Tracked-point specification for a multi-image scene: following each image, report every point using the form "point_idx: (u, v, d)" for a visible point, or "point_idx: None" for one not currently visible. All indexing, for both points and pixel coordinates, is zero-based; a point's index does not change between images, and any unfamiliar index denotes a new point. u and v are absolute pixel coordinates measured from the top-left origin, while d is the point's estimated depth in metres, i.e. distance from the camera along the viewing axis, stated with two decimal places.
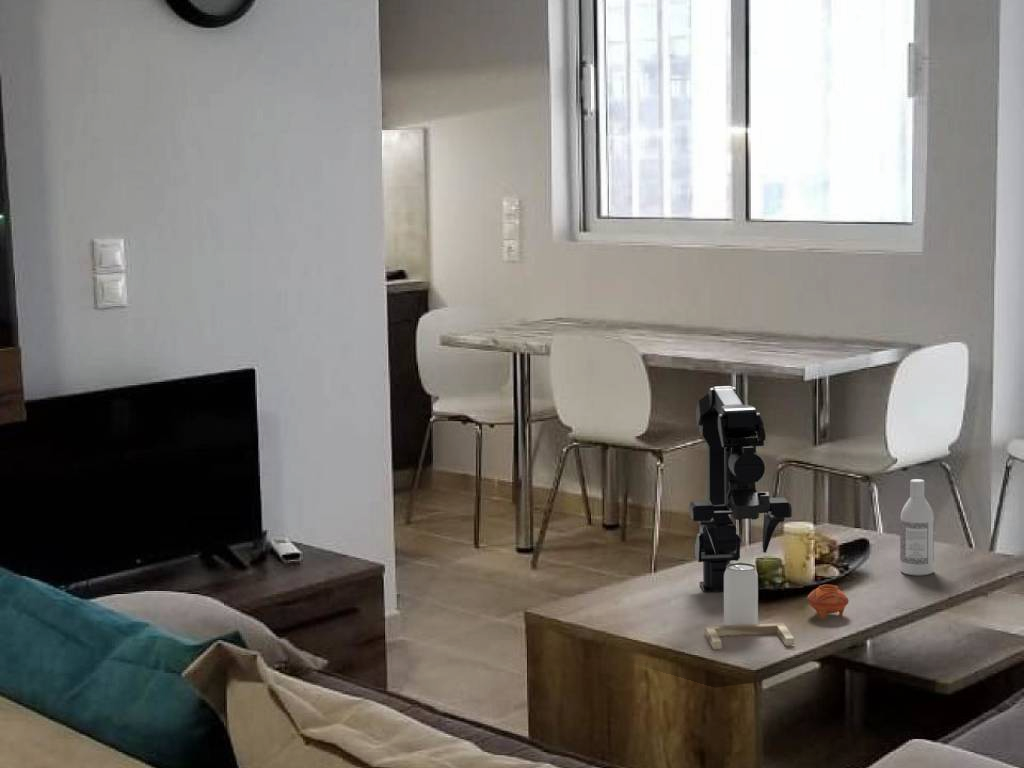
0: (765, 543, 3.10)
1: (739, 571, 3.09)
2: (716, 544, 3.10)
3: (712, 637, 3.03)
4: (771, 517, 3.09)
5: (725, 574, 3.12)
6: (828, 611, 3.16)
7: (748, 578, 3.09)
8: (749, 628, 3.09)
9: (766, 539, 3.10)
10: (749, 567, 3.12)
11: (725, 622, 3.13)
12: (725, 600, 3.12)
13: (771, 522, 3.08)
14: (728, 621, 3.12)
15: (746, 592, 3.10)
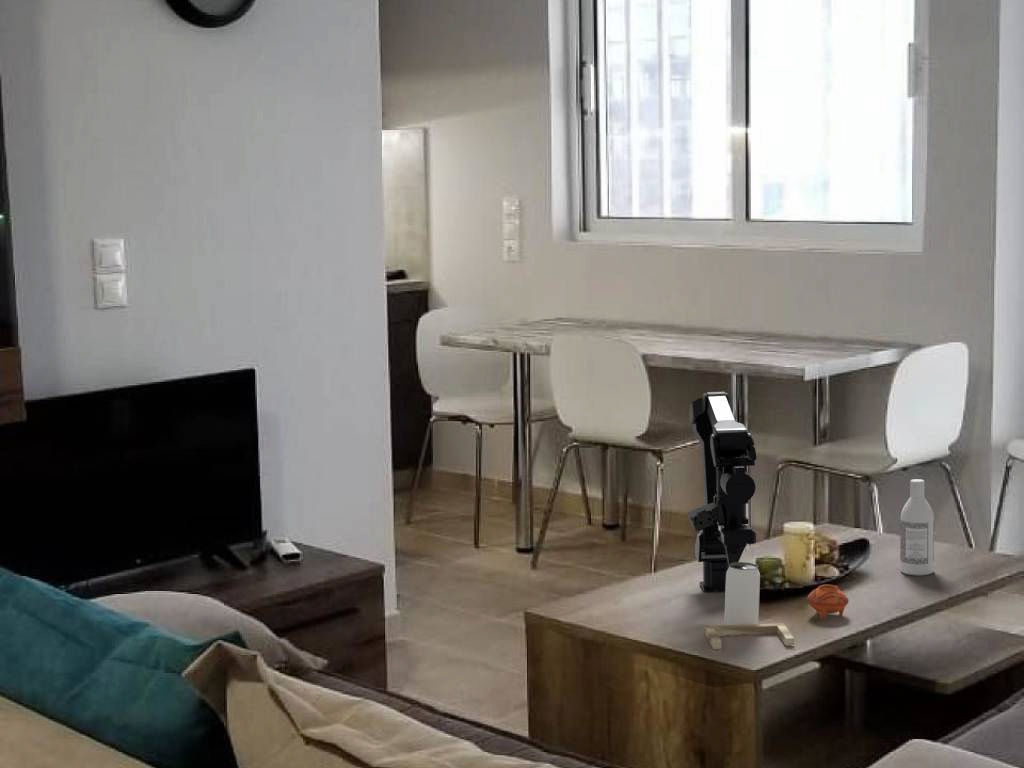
0: (728, 559, 3.21)
1: (741, 570, 3.10)
2: (727, 558, 3.21)
3: (712, 637, 3.03)
4: None
5: (727, 572, 3.12)
6: (828, 611, 3.16)
7: (750, 577, 3.09)
8: (749, 628, 3.09)
9: (727, 555, 3.21)
10: (752, 567, 3.12)
11: (725, 621, 3.13)
12: (726, 599, 3.12)
13: None
14: (728, 620, 3.12)
15: (748, 591, 3.10)
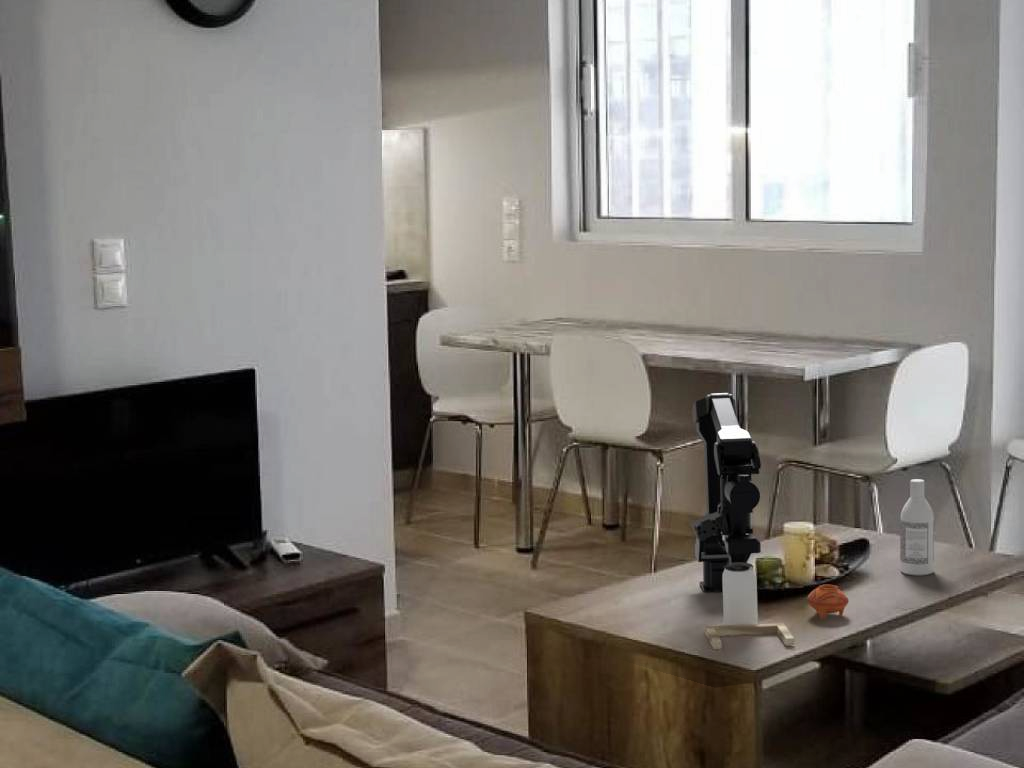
0: None
1: (736, 572, 3.09)
2: None
3: (712, 637, 3.03)
4: None
5: (723, 575, 3.11)
6: (828, 611, 3.16)
7: (746, 578, 3.09)
8: (749, 628, 3.09)
9: None
10: (747, 567, 3.12)
11: (724, 622, 3.13)
12: (724, 600, 3.12)
13: None
14: (727, 621, 3.12)
15: (744, 593, 3.09)
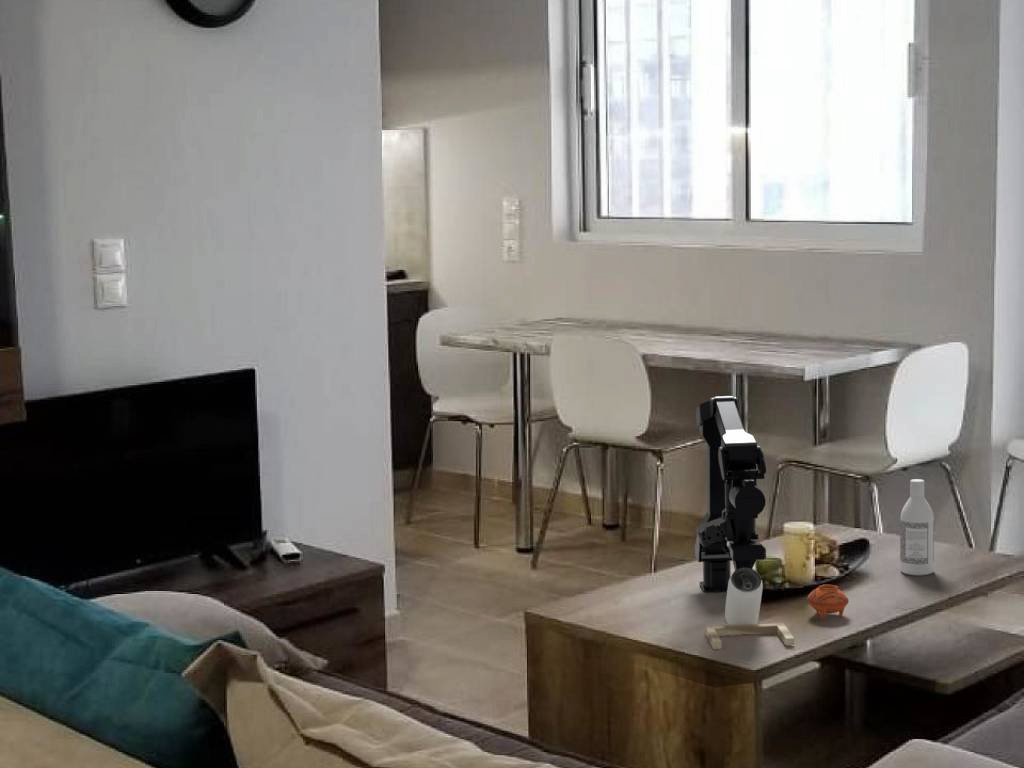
0: None
1: (742, 591, 3.03)
2: None
3: (712, 637, 3.03)
4: None
5: (729, 585, 3.06)
6: (828, 611, 3.16)
7: (751, 597, 3.04)
8: (749, 628, 3.09)
9: None
10: (755, 580, 3.05)
11: (725, 615, 3.12)
12: (727, 602, 3.09)
13: None
14: (727, 618, 3.11)
15: (748, 607, 3.06)
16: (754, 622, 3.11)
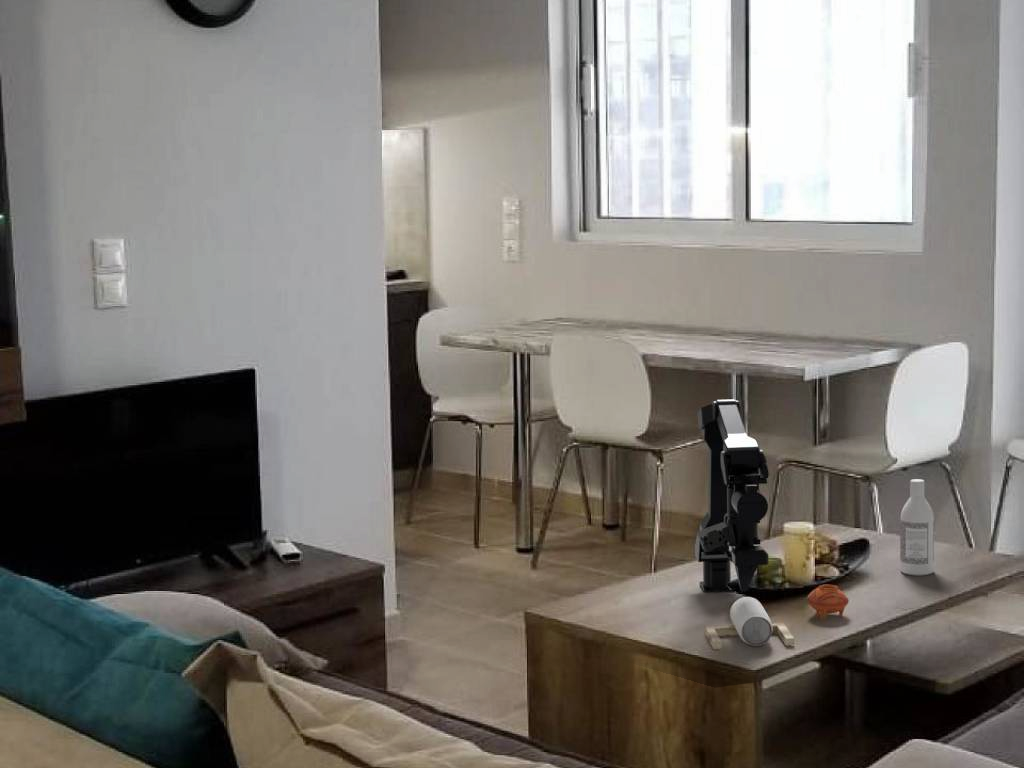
0: (739, 581, 3.09)
1: None
2: (738, 579, 3.10)
3: (712, 637, 3.03)
4: None
5: (739, 626, 3.02)
6: (828, 611, 3.16)
7: None
8: None
9: (738, 577, 3.09)
10: (765, 632, 3.01)
11: (730, 612, 3.11)
12: (734, 619, 3.07)
13: None
14: (731, 618, 3.11)
15: None
16: None
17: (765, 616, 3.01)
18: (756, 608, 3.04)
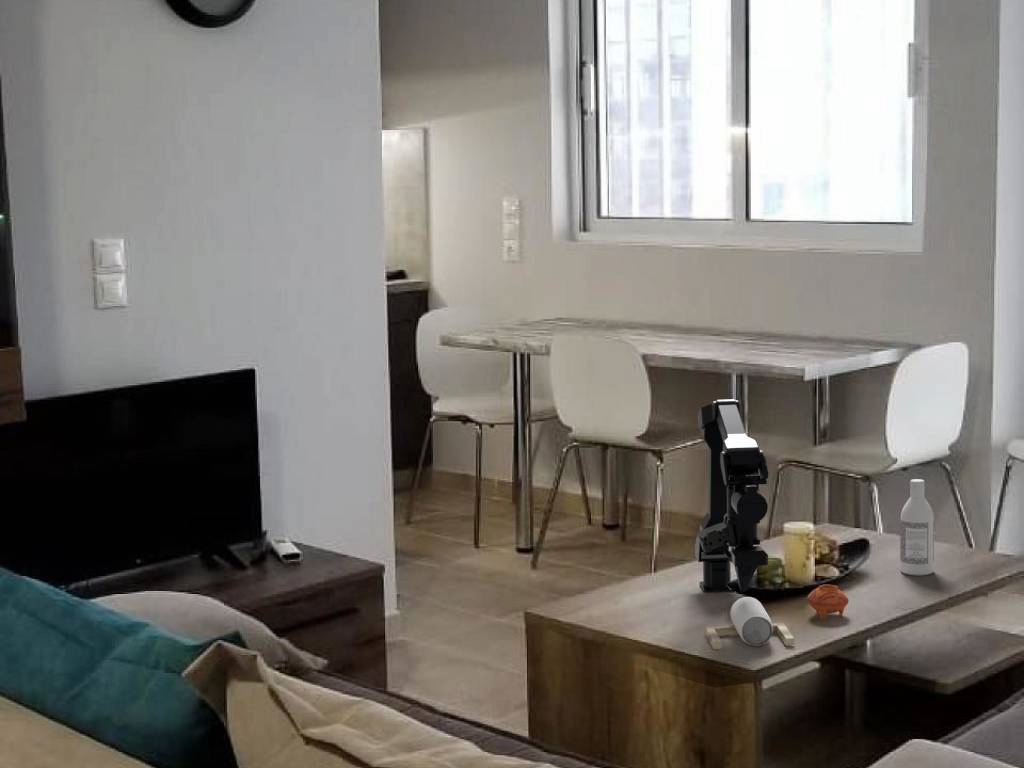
0: (738, 581, 3.09)
1: None
2: None
3: (712, 637, 3.03)
4: None
5: (739, 626, 3.02)
6: (828, 611, 3.16)
7: None
8: None
9: (738, 577, 3.09)
10: (765, 633, 3.01)
11: (731, 612, 3.11)
12: (734, 619, 3.07)
13: None
14: (731, 617, 3.11)
15: None
16: None
17: (765, 616, 3.01)
18: (757, 608, 3.04)
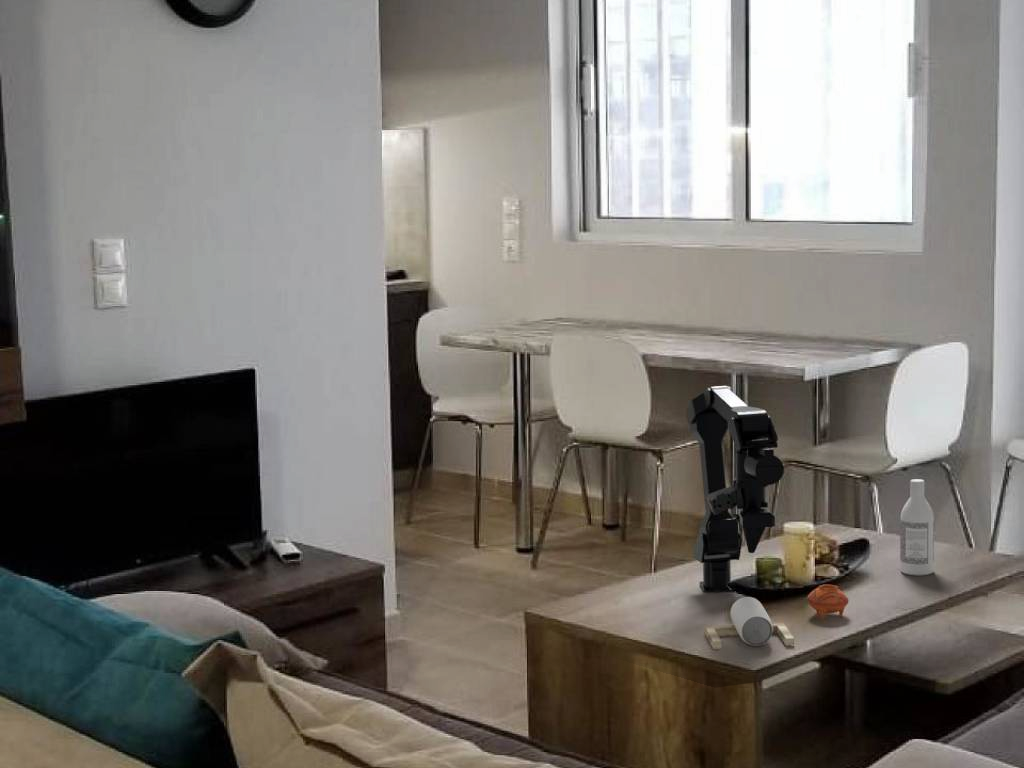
0: (747, 543, 3.19)
1: None
2: (746, 541, 3.20)
3: (712, 637, 3.03)
4: None
5: (739, 626, 3.02)
6: (828, 611, 3.16)
7: None
8: None
9: (746, 539, 3.19)
10: (765, 633, 3.01)
11: (731, 612, 3.11)
12: (734, 619, 3.07)
13: None
14: (731, 617, 3.11)
15: None
16: None
17: (765, 616, 3.01)
18: (757, 608, 3.04)
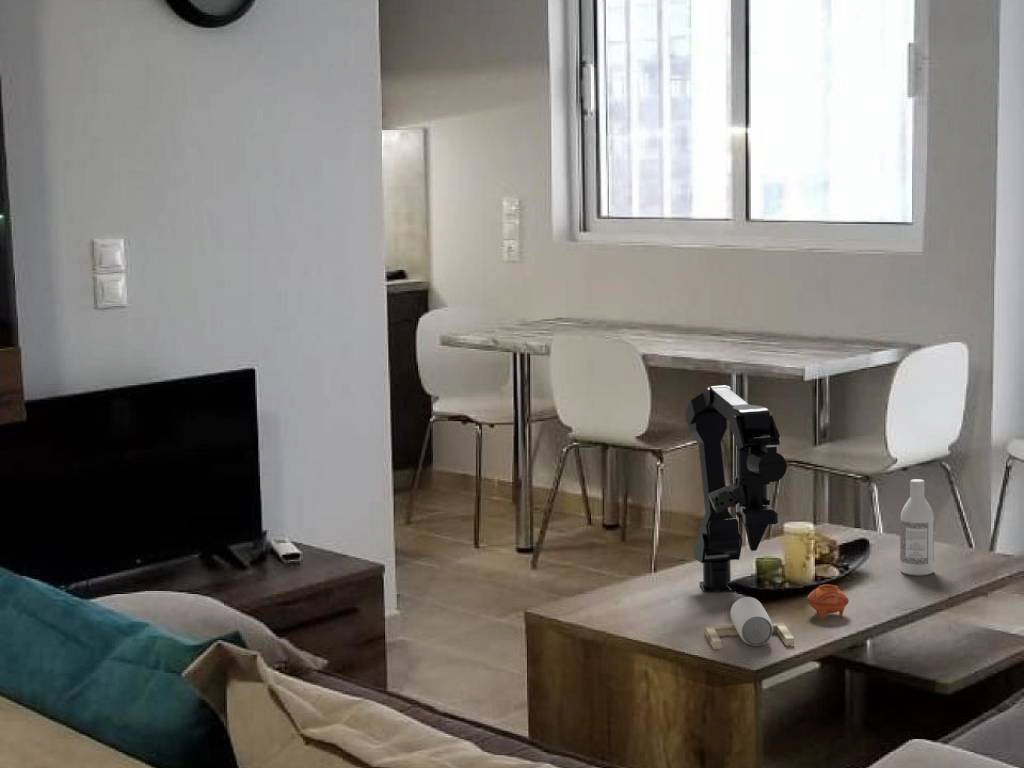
0: (749, 541, 3.19)
1: None
2: (748, 539, 3.20)
3: (712, 637, 3.03)
4: None
5: (739, 626, 3.02)
6: (828, 611, 3.16)
7: None
8: None
9: (748, 537, 3.19)
10: (765, 633, 3.01)
11: (731, 612, 3.11)
12: (734, 619, 3.07)
13: None
14: (731, 617, 3.11)
15: None
16: None
17: (765, 616, 3.01)
18: (757, 608, 3.04)
